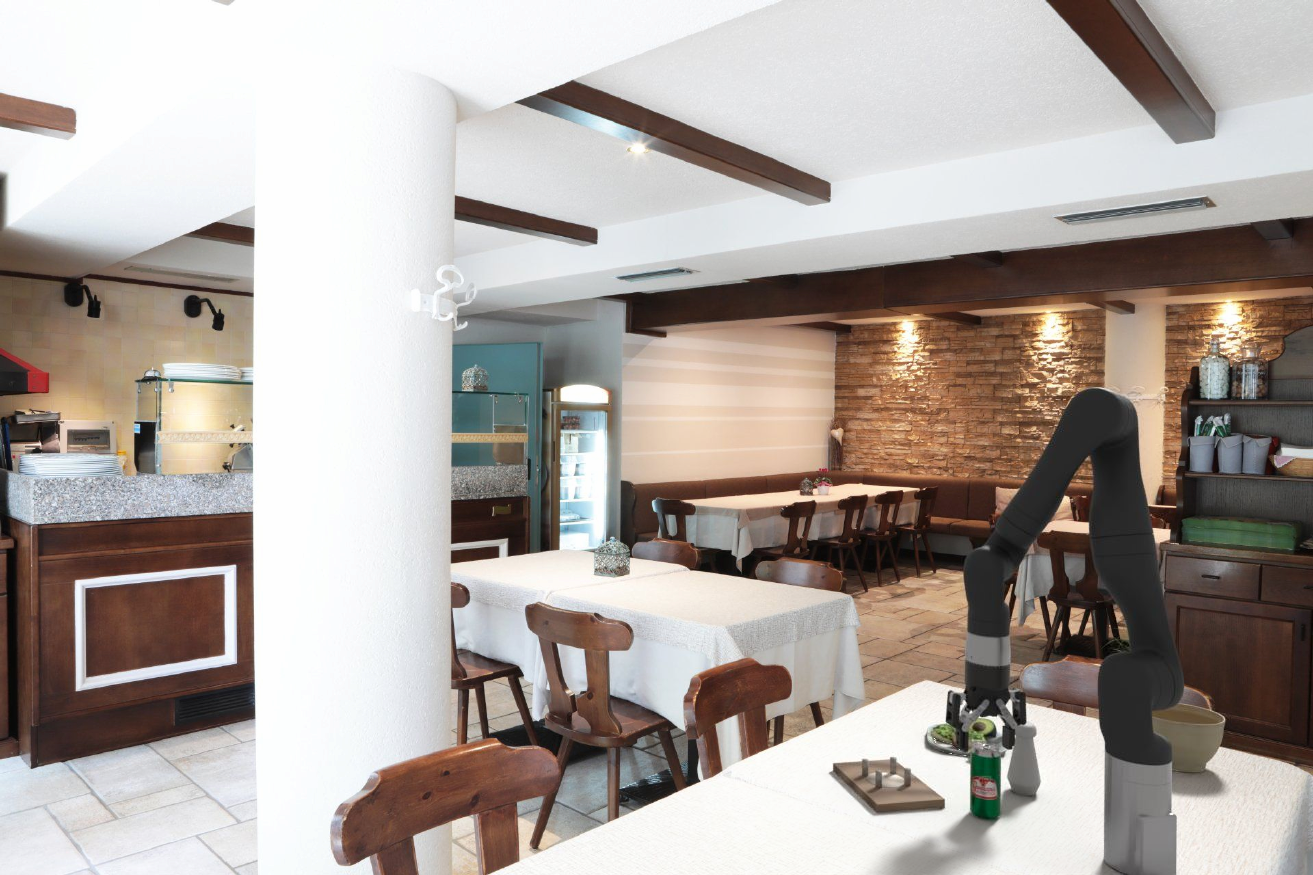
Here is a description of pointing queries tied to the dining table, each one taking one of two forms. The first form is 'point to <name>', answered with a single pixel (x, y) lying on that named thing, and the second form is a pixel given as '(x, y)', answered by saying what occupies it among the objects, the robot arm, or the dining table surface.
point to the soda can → (985, 781)
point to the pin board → (888, 785)
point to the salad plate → (977, 731)
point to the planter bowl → (1190, 735)
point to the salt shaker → (1024, 762)
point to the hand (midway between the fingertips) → (985, 749)
